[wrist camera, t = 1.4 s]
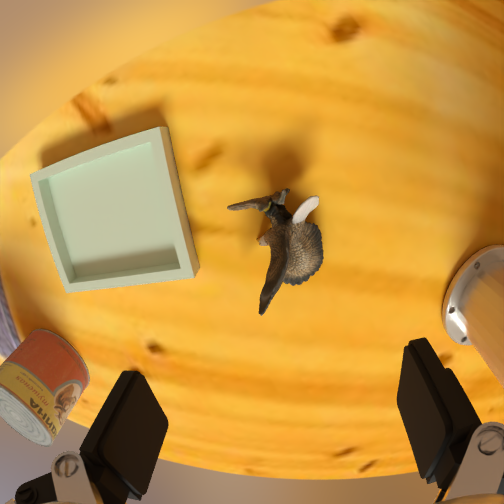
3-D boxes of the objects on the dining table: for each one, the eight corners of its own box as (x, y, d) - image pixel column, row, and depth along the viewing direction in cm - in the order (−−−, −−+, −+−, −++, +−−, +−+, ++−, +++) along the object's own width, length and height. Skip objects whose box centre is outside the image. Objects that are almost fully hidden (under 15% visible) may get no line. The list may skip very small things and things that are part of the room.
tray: (168, 127, 24) (159, 126, 22) (200, 267, 28) (194, 277, 26) (42, 171, 26) (29, 174, 24) (76, 283, 30) (66, 292, 28)
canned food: (94, 399, 38) (61, 457, 27) (37, 373, 38) (0, 421, 26) (84, 345, 34) (37, 409, 22) (22, 318, 33) (-28, 367, 22)
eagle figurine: (209, 211, 25) (242, 311, 27) (243, 199, 19) (283, 330, 20) (285, 189, 28) (310, 280, 30) (334, 174, 22) (362, 287, 23)
